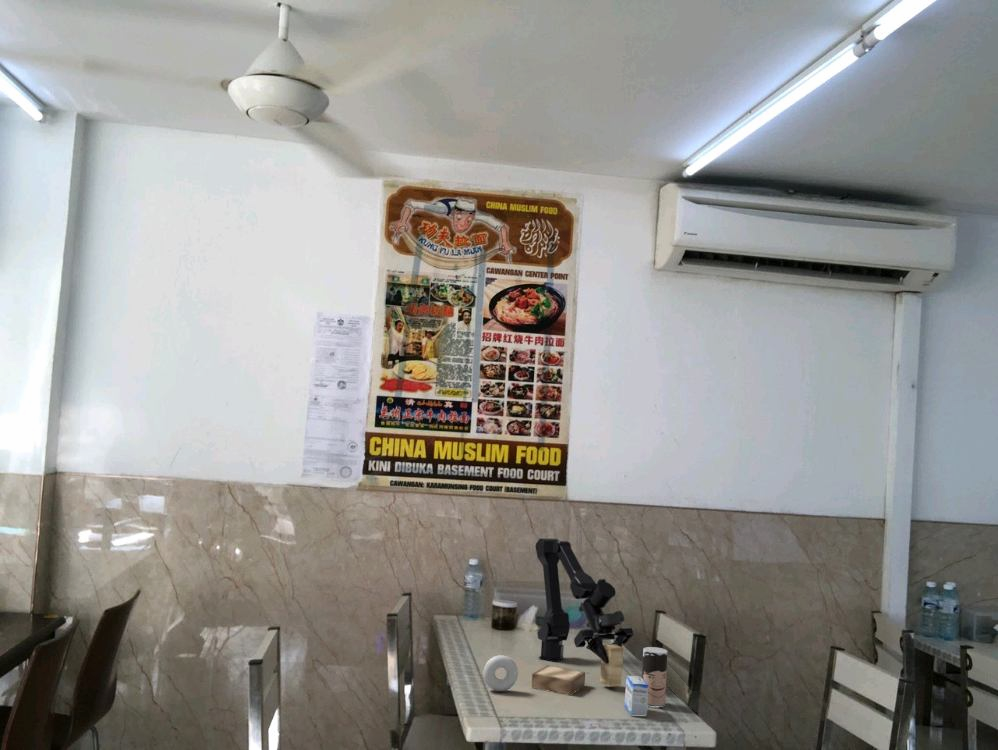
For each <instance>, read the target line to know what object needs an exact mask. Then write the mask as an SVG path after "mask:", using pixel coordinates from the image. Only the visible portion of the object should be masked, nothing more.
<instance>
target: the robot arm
mask: <svg viewBox="0 0 998 750" xmlns="http://www.w3.org/2000/svg"><path fill="white" fill-rule="evenodd" d="M535 551H536V556H537V559H538V561H539V562H540V563H541V565H542V569H543V580H544V589H545V590H544V591H545V601H546V611H545V614H544V616H543V618H542V625H541V626H540V628H539V629H538V631H537V639H538V640H541V646H540V649H541V650H540V656H538V659H539V658H540V659H539V660H544V659H545V661H549V660H550V661H551V662H559V661H560V659H561V660H563V659H564V649H565V648H564V647H565V646H564V644H563V641H567V640H568V637H569V633H570V630H571V629H570V628H571V627H570V626H571V623H570V616H569V613H568V612H565V610H564V609H563V605H562V596H561V587H560V585H561V584H560V576H559V565H558V564H559V562H561V565H562V566H563V568H564V570H565V571H566V574H567V575H568V577H569V579H570V583H569V589H570V590H571V593H572V596H573V598H574V599H576V600H583V601H582V602H580V605H579V607H578V612H580V613H581V612H583V613H584V616H585V618H586V620H587V623H586V628H587V629H580V630H579V631H578V633H577V634H576V635H575V637H574V639H573V643H574V645H575V647H576V648H586V650H589V651H590V652H593V654H594V655H596V656H597V657H598V658H600V659H602V660H603V661H604V662H605V663H606V664H608V663H609V660H608V657H607V654H606V651H605V649H604V646H603V645H604V644H603V641H608V640H609V641H610V642H611V643H610V644H616V645H618V646H620V647H623V645H626V644H628V642H629V641H630V640H631V639H632V638H633V637H634V636H635V632H634V630H633V628H632V627H630V626H627V627H626V626H624V627H623V626H622V627H619V629H618V630H617V631H615V632H613V631H614V630H615V629H616V626H618V625H621V624H622V623H623V622H625V615H624V613H623V612H622V611H621V610H616V611H615V612H613V613H605V611H604V609H603V608H605V607H607V606H608V605H609V604H610V602H611V601H612V600H613V598H614V597H615V595H616V592H617V591H616V588H615V587H614V586H613V585H612V584H611V583H609V582H607V581H606V578H605V579H604V578H603V579H602V578H599V579H598V580H597V583H596V581H595V580H594V579H593V578H592V576H590V575H589V574H588V573H587V572H585V571H584V569H583V568H582V566H581V564H580V562H579V561H578V558H577V557H576V554H575V552H574V551H573V549H572V545H571V542H569V541H567V540H559V539H558V538H539V539H538V540H537V542H536V543H535ZM586 644H587V646H586ZM585 646H586V647H585ZM562 658H563V659H562ZM550 661H549V662H550Z"/></svg>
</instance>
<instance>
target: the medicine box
mask: <svg viewBox="0 0 998 750" xmlns="http://www.w3.org/2000/svg"><path fill="white" fill-rule="evenodd" d="M625 677H626V678H625V693H624V705H623V707H624V709H625V708H626V709H627V710H626V709H625V710H626V711H627V712H628V714H629V713H630V714H631V715H647V716H648V707H647V704H648V684H647V683H646V682H645V681H644V680H643V679H642V676H637V675H626V676H625ZM630 714H629V715H630ZM631 715H630V716H631Z"/></svg>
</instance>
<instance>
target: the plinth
mask: <svg viewBox="0 0 998 750" xmlns="http://www.w3.org/2000/svg"><path fill="white" fill-rule="evenodd" d="M531 676H532V677H531V687H535V688H539V689H538V690H540V689H544V690H543V691H545V690H549V691H548V692H550V691H553V692H552V693H555V692H560V693H564V694H563V695H565V694H568V695H567V696H572V695H573V694H575V693H576V692H578V691H579V690H581V689H582V688H584V687H585V686H584V685H586V671H582V670H576V669H571V668H566V667H560V666H554V665H549V664H548V665H547V664H546V665H545V666H544V667H542V668H540V669H538V670H536V671H535V672H533V673H532V674H531ZM583 686H584V687H583ZM581 687H582V688H581ZM535 688H534V689H535ZM580 688H581V689H580ZM578 689H579V690H578ZM577 690H578V691H577ZM575 691H576V692H575ZM574 692H575V693H574ZM560 693H559V694H560ZM572 693H573V694H572ZM571 694H572V695H571Z"/></svg>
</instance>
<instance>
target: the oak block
mask: <svg viewBox="0 0 998 750" xmlns="http://www.w3.org/2000/svg"><path fill="white" fill-rule="evenodd" d="M603 646H604V649H605V651H606V654H607V657H608V660H609V663H608V664H606V663H605V662H604V661H603V660H602V659H601V658H600V659H601V660H600V672H599V673H600V677H599V683H600V684H602V685H604V686H606V687H610V688H611V687H620V686H622V681H623V679H622V677H623V662H624V660H623V659H624V647H623V646H622V647H620V646H618V645H616V644H612V643H610V644H609V643H608V644H603Z"/></svg>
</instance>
